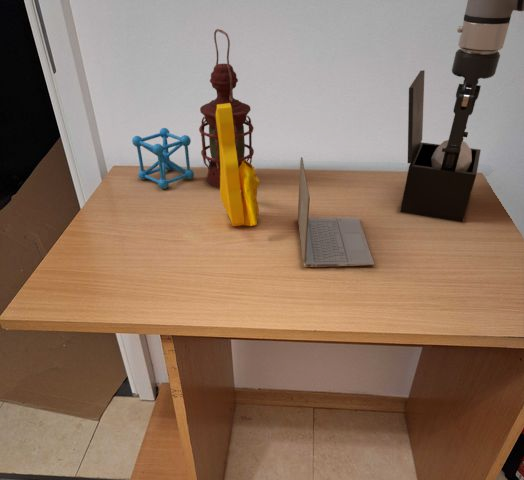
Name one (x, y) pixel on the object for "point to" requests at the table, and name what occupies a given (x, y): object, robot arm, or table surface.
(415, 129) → the dark brown box lid
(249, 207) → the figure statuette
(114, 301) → the table surface
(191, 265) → the table surface
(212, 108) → the lantern
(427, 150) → the box
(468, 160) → the geometric ball
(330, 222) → the laptop
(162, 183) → the molecular structure
